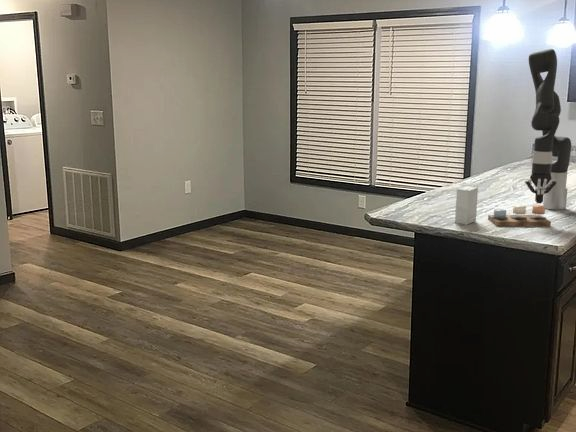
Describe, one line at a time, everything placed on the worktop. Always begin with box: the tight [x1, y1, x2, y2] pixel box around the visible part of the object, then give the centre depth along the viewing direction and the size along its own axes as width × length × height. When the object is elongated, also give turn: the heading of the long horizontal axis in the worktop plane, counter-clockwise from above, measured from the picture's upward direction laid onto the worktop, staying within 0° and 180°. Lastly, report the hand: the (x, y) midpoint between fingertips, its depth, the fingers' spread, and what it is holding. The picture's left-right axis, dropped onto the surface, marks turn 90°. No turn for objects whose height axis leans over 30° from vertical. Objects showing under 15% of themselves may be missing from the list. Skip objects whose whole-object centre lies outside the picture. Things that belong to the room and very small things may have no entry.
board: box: [487, 214, 552, 227], centre depth 277 cm, size 22×13×2 cm, turn 88°
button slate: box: [493, 208, 507, 219], centre depth 276 cm, size 5×5×3 cm
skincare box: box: [454, 185, 479, 225], centre depth 277 cm, size 8×6×15 cm
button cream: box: [512, 204, 527, 215], centre depth 276 cm, size 5×5×3 cm
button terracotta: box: [531, 204, 546, 215], centre depth 275 cm, size 5×5×3 cm
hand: (538, 203), depth 275 cm, fingers closed
